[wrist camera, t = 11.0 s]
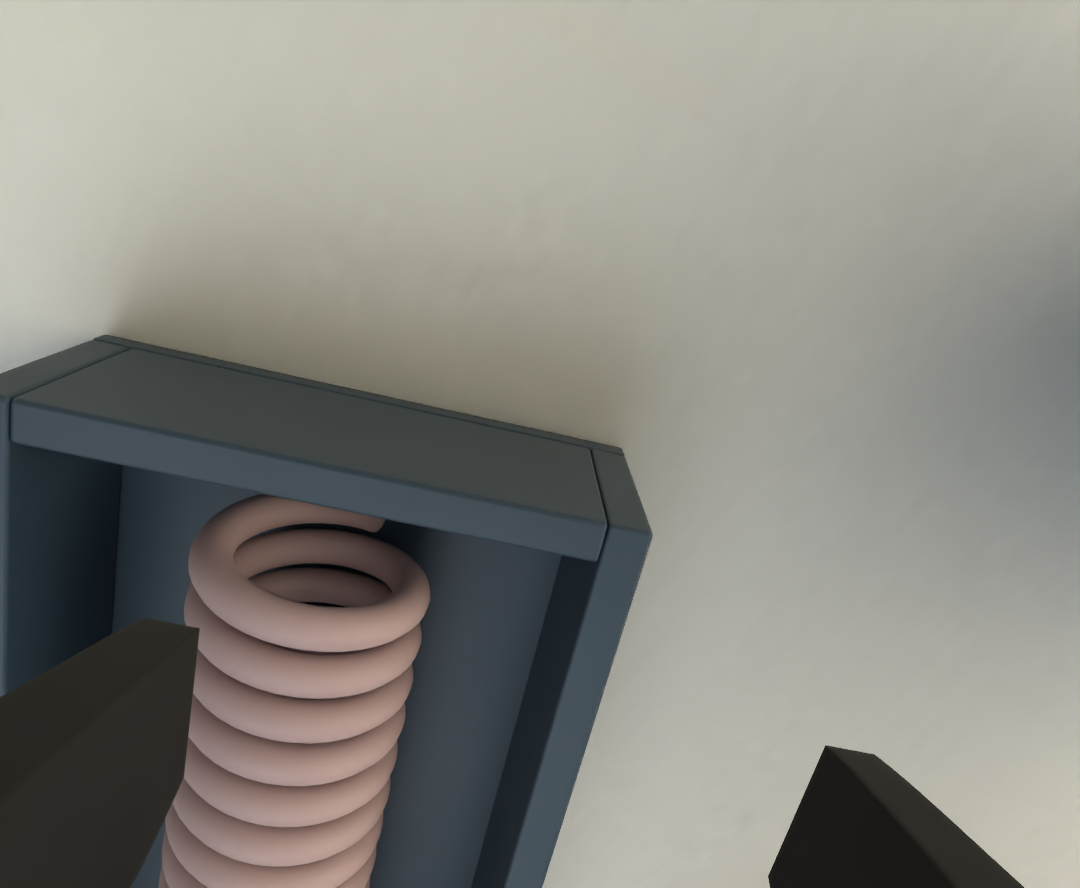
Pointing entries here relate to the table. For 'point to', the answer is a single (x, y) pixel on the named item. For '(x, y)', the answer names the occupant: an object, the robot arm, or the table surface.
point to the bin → (339, 567)
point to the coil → (291, 699)
